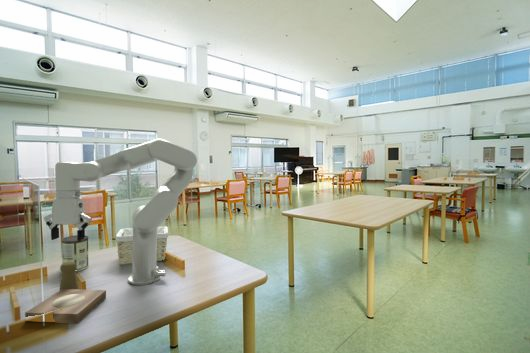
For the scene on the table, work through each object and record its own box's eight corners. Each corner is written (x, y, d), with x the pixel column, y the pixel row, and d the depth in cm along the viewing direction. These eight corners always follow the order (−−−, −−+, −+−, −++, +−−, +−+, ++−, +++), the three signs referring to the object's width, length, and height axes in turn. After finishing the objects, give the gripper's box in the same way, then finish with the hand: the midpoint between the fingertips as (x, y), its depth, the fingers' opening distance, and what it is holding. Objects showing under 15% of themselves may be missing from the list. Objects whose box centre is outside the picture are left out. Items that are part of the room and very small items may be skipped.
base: (106, 298, 103) (106, 289, 103) (77, 323, 87) (77, 313, 87) (62, 296, 103) (62, 288, 102) (25, 322, 87) (25, 312, 86)
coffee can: (71, 263, 134) (71, 234, 134) (93, 264, 135) (93, 235, 134) (56, 272, 124) (55, 240, 123) (79, 272, 124) (79, 241, 124)
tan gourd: (68, 295, 104) (68, 266, 103) (54, 293, 105) (54, 264, 105) (82, 288, 110) (81, 260, 109) (69, 286, 111) (68, 259, 110)
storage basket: (114, 266, 133) (114, 235, 132) (120, 255, 148) (120, 227, 147) (167, 262, 141) (168, 233, 140) (167, 251, 156) (168, 225, 155)
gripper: (96, 194, 109) (96, 237, 110) (52, 192, 109) (52, 235, 110) (84, 196, 102) (84, 242, 103) (36, 195, 102) (37, 241, 103)
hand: (68, 239), depth 106 cm, fingers open, 9 cm apart
